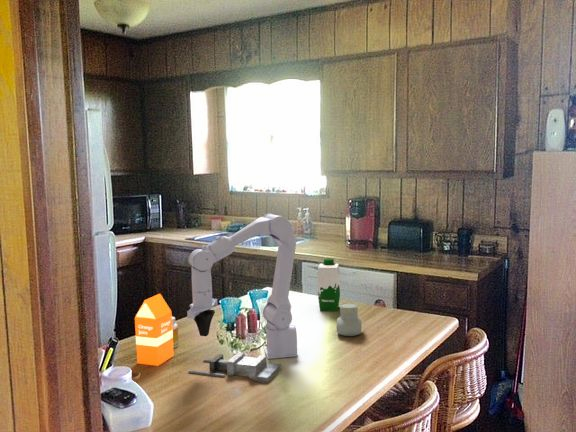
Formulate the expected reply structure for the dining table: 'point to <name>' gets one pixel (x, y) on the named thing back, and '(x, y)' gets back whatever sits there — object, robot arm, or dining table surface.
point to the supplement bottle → (175, 333)
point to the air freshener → (349, 321)
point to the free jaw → (225, 363)
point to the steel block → (243, 366)
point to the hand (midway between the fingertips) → (204, 335)
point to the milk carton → (328, 285)
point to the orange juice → (154, 332)
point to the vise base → (253, 370)
